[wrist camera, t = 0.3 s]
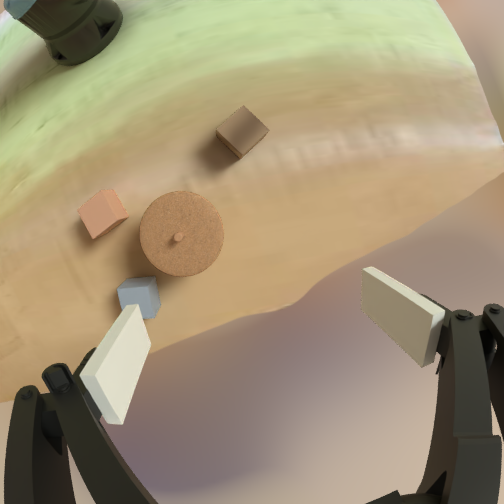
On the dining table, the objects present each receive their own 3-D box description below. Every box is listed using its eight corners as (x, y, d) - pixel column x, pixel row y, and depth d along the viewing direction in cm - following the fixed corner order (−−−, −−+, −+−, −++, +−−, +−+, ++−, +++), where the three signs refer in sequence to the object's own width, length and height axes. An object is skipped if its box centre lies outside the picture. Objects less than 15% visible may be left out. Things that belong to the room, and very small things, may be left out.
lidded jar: (148, 252, 40) (129, 269, 31) (162, 184, 38) (144, 182, 29) (214, 268, 42) (212, 290, 33) (231, 200, 40) (233, 203, 31)
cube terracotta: (91, 207, 38) (77, 210, 33) (114, 189, 37) (101, 190, 33) (106, 233, 39) (93, 239, 34) (129, 216, 39) (117, 220, 34)
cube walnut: (216, 136, 38) (215, 129, 33) (240, 114, 37) (243, 105, 32) (240, 159, 39) (242, 155, 34) (264, 137, 38) (269, 130, 33)
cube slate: (127, 278, 41) (116, 289, 36) (155, 275, 41) (147, 286, 36) (133, 306, 42) (124, 319, 37) (161, 304, 42) (154, 318, 37)
